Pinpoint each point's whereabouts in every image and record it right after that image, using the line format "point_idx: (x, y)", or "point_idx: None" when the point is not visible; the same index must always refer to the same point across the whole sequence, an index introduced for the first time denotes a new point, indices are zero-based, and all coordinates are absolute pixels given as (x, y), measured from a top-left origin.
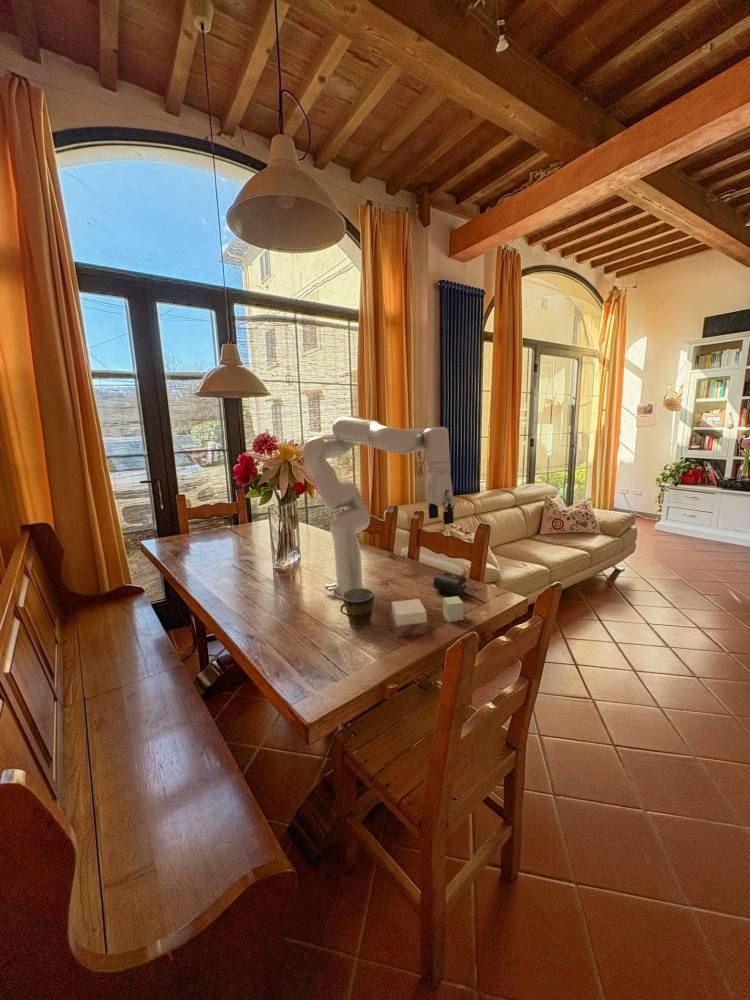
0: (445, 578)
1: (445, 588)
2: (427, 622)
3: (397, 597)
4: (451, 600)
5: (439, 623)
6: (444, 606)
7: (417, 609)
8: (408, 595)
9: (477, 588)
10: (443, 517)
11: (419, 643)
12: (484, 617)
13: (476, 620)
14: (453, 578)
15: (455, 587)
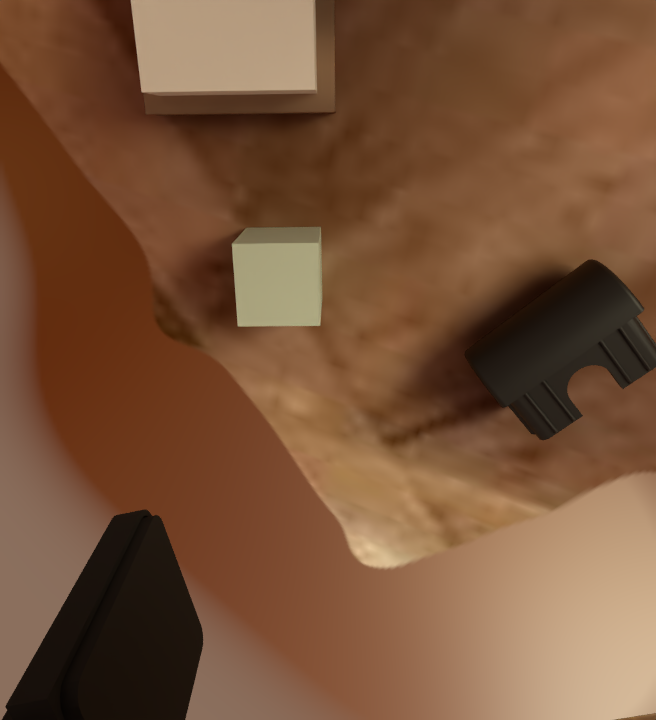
0: (562, 333)
1: (522, 310)
2: (157, 99)
3: (599, 17)
4: (276, 277)
5: (240, 182)
6: (295, 236)
7: (175, 43)
8: (599, 96)
9: (540, 465)
10: (99, 589)
11: (68, 30)
12: (259, 391)
13: (239, 352)
14: (533, 373)
15: (476, 356)
